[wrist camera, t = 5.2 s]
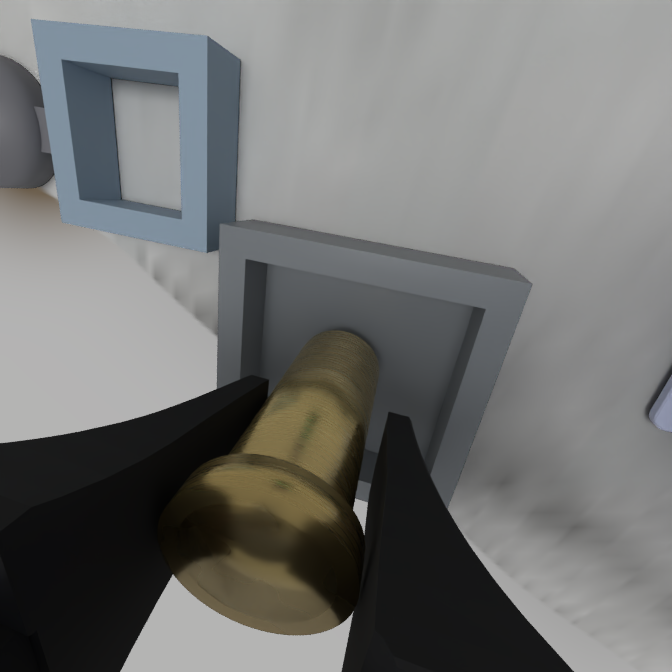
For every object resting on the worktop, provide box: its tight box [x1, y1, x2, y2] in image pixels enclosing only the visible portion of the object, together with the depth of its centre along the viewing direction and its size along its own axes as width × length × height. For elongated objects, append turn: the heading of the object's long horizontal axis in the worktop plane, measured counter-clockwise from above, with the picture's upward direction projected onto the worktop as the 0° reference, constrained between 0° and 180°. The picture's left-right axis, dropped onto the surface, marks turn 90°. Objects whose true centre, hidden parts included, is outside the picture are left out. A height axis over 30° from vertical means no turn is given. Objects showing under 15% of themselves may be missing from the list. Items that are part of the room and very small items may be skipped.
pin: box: [157, 330, 379, 635], centre depth 10 cm, size 4×4×8 cm
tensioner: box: [0, 19, 240, 253], centre depth 13 cm, size 13×6×2 cm, turn 81°
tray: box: [217, 220, 532, 509], centre depth 14 cm, size 10×10×2 cm
